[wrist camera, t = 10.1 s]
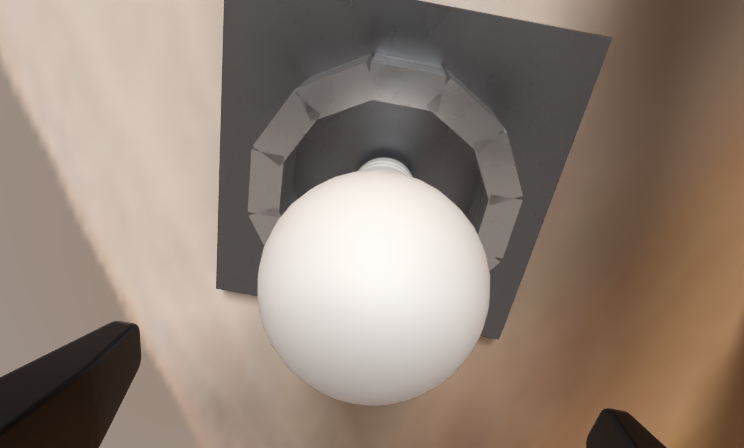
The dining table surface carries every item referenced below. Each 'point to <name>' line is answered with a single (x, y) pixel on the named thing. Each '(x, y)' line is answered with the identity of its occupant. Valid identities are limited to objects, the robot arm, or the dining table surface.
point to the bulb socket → (397, 117)
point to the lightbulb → (373, 286)
